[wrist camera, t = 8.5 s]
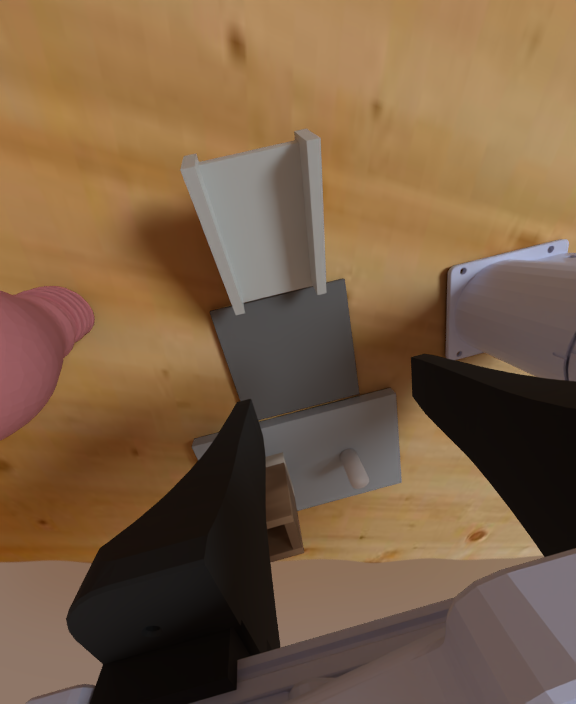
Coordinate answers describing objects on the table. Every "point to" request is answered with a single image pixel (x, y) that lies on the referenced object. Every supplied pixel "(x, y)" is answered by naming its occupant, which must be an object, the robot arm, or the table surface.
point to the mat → (290, 349)
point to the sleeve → (281, 511)
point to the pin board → (334, 447)
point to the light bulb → (36, 348)
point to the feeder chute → (263, 217)
